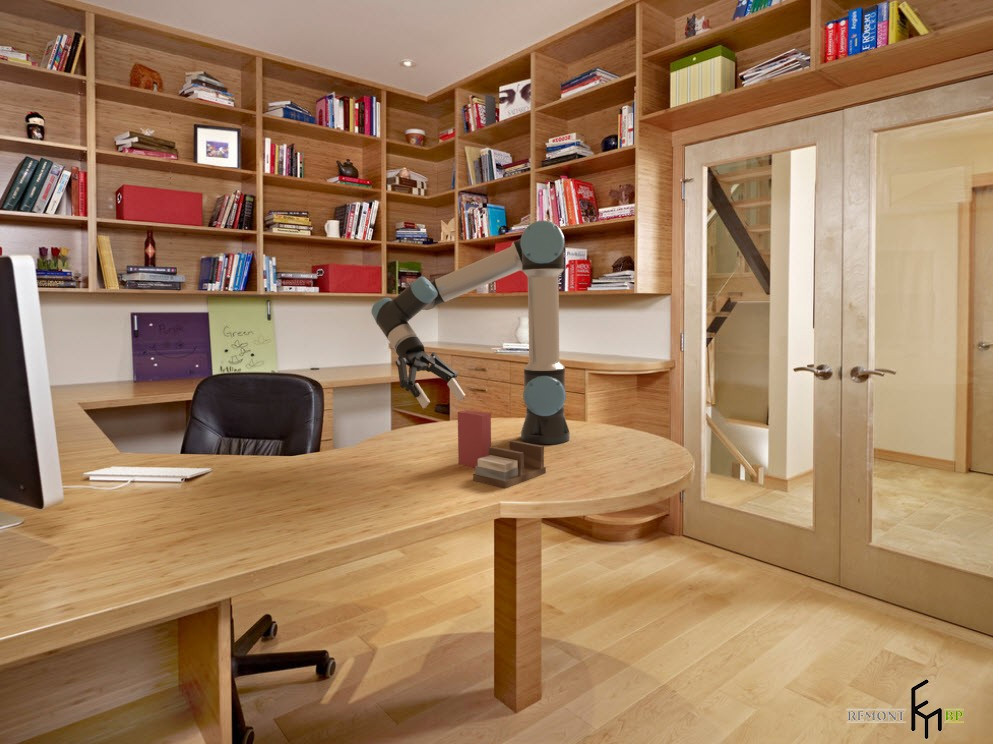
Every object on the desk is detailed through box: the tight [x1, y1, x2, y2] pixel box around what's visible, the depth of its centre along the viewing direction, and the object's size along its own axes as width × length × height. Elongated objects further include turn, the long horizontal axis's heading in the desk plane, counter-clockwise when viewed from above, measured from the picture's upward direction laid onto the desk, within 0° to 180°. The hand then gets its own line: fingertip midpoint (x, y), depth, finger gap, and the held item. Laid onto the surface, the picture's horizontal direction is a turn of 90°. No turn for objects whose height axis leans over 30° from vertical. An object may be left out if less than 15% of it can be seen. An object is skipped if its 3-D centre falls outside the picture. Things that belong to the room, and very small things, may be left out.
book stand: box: [472, 440, 547, 489], centre depth 152 cm, size 16×10×7 cm, turn 140°
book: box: [457, 409, 492, 468], centre depth 162 cm, size 4×9×14 cm, turn 50°
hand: (445, 401), depth 168 cm, fingers open, 13 cm apart
